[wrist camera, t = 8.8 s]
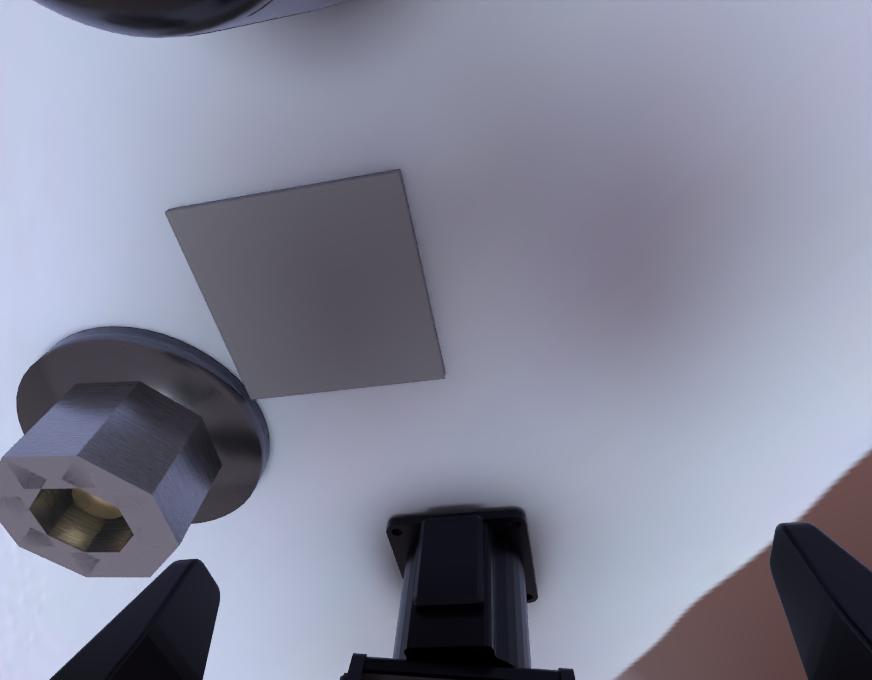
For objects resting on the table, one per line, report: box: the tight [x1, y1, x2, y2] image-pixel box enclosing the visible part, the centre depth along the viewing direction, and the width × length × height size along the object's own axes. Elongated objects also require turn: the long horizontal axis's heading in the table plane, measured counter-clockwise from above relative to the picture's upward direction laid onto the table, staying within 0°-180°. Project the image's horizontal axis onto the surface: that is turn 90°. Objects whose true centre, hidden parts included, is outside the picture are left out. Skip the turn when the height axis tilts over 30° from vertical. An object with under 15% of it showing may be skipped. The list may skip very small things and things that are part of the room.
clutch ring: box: [0, 381, 222, 577], centre depth 22 cm, size 6×6×4 cm
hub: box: [17, 327, 269, 524], centre depth 23 cm, size 10×10×4 cm
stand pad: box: [165, 169, 445, 400], centre depth 20 cm, size 8×8×1 cm
